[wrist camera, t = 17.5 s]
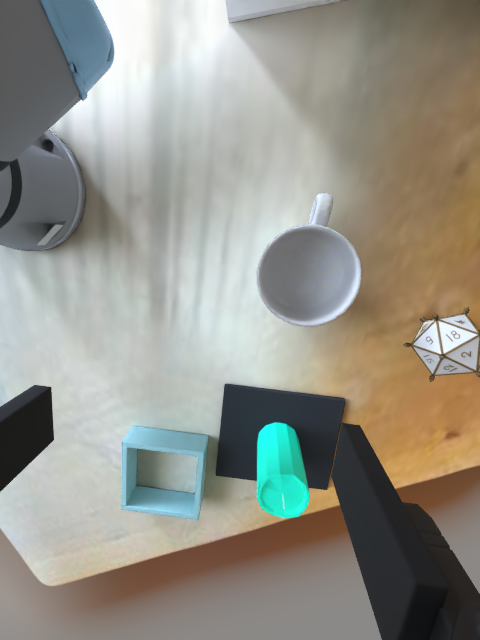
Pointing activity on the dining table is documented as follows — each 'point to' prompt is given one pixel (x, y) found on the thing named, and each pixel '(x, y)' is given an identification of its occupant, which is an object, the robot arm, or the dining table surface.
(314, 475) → the mat
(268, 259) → the teacup
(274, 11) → the white lidded jar
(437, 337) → the game die
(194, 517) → the tub
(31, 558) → the dining table surface
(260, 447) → the candle
